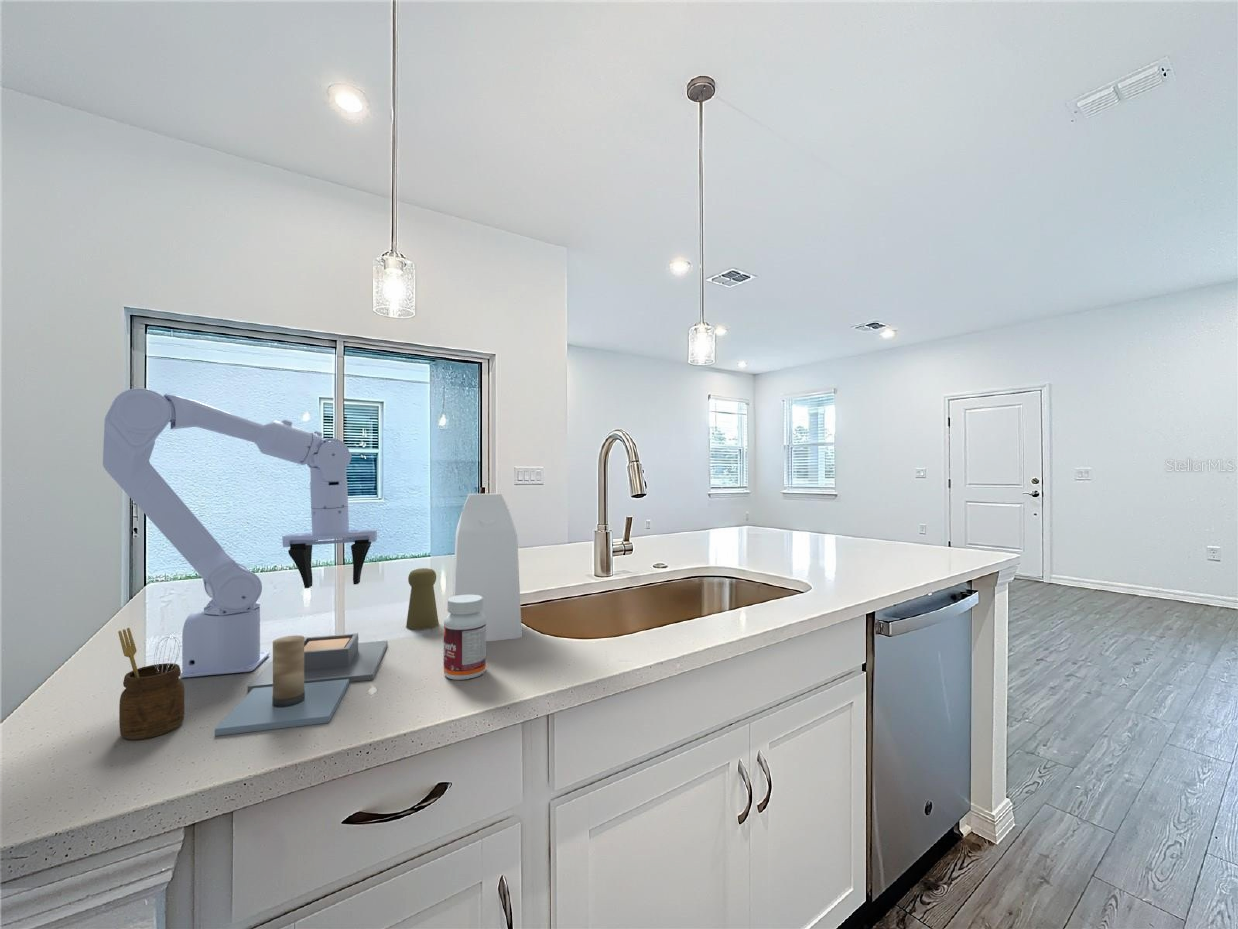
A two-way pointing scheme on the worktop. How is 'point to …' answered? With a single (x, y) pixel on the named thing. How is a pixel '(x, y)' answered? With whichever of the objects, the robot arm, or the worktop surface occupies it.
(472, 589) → the milk
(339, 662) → the breaker housing
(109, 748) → the worktop surface
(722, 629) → the worktop surface
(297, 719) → the rubber mat
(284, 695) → the rounded tan cylinder
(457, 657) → the pill bottle
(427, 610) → the cork
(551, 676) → the worktop surface
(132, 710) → the utensil holder
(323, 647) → the button
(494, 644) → the worktop surface
